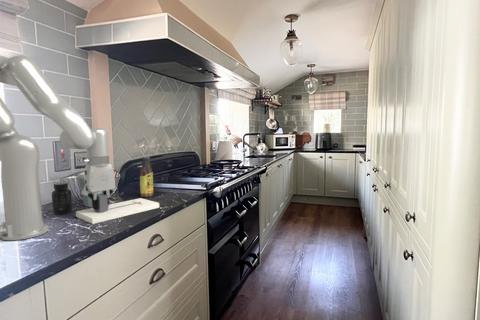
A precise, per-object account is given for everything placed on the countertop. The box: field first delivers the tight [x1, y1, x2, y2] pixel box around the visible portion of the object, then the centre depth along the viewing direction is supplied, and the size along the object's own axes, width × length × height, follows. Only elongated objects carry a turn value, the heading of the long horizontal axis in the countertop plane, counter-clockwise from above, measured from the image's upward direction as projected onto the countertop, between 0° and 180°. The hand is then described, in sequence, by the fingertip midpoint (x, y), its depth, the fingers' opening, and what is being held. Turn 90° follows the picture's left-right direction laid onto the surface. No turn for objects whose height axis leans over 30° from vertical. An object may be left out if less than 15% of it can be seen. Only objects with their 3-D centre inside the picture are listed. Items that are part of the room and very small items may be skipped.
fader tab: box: [94, 193, 108, 212], centre depth 112 cm, size 3×5×6 cm, turn 51°
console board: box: [75, 197, 160, 225], centre depth 118 cm, size 28×14×2 cm, turn 141°
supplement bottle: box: [51, 181, 74, 216], centre depth 117 cm, size 7×7×12 cm
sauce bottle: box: [139, 156, 154, 198], centre depth 145 cm, size 6×6×20 cm
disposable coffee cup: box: [77, 171, 103, 208], centre depth 128 cm, size 11×11×15 cm
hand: (100, 207), depth 112 cm, fingers closed on fader tab, 3 cm apart
